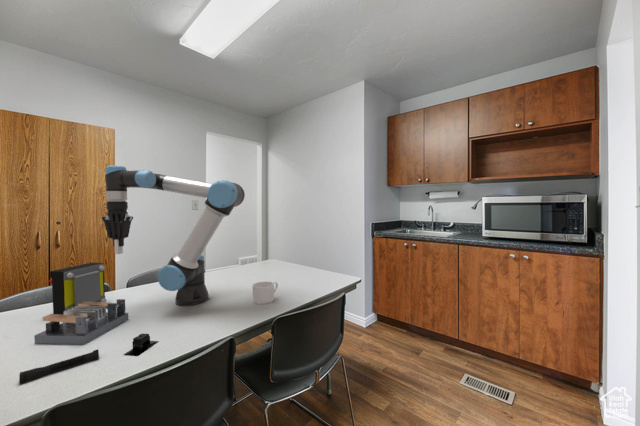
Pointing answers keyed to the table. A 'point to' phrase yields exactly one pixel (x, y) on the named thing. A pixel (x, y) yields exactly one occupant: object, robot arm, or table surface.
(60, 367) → the long black strip
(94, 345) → the table surface
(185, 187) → the robot arm
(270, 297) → the mug
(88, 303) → the lever
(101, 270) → the electrical component
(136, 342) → the black flanged mount
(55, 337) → the heatsink base
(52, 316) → the lever
